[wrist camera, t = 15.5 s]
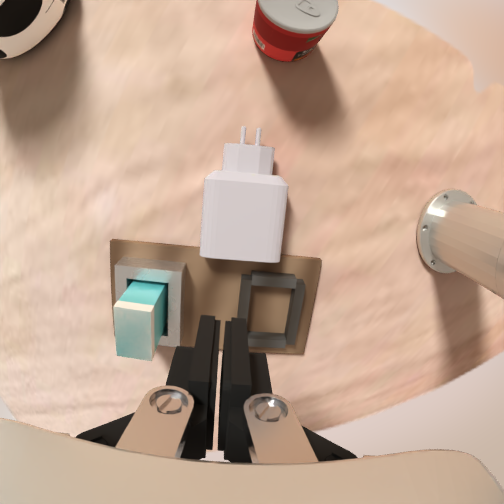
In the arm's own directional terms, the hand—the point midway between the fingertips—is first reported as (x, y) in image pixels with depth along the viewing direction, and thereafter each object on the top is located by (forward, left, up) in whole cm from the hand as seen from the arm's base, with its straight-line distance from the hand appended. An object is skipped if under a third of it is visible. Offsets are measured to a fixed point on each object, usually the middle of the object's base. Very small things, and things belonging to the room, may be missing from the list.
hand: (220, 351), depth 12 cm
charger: (-1, -3, -30) cm, 30 cm away
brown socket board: (+2, +11, -29) cm, 31 cm away
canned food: (-4, -24, -29) cm, 38 cm away
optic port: (+9, +11, -29) cm, 32 cm away
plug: (+9, +11, -28) cm, 31 cm away
